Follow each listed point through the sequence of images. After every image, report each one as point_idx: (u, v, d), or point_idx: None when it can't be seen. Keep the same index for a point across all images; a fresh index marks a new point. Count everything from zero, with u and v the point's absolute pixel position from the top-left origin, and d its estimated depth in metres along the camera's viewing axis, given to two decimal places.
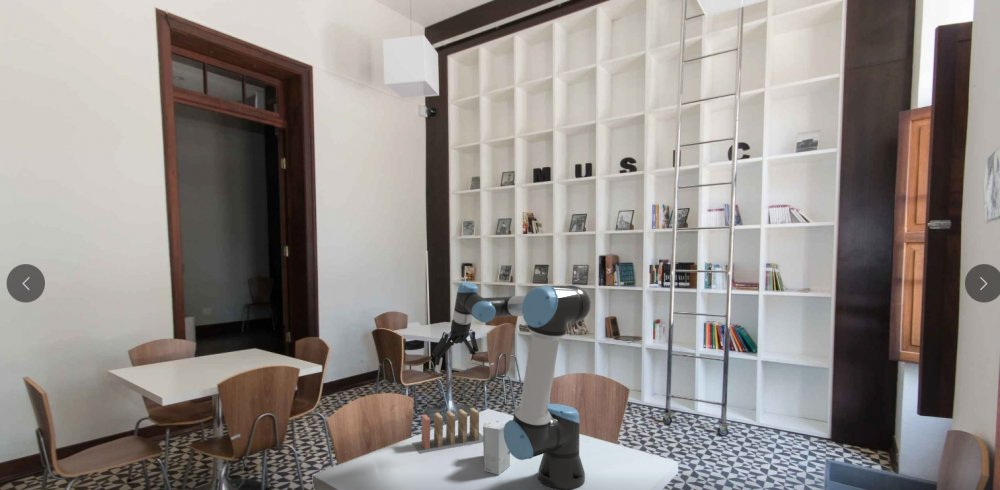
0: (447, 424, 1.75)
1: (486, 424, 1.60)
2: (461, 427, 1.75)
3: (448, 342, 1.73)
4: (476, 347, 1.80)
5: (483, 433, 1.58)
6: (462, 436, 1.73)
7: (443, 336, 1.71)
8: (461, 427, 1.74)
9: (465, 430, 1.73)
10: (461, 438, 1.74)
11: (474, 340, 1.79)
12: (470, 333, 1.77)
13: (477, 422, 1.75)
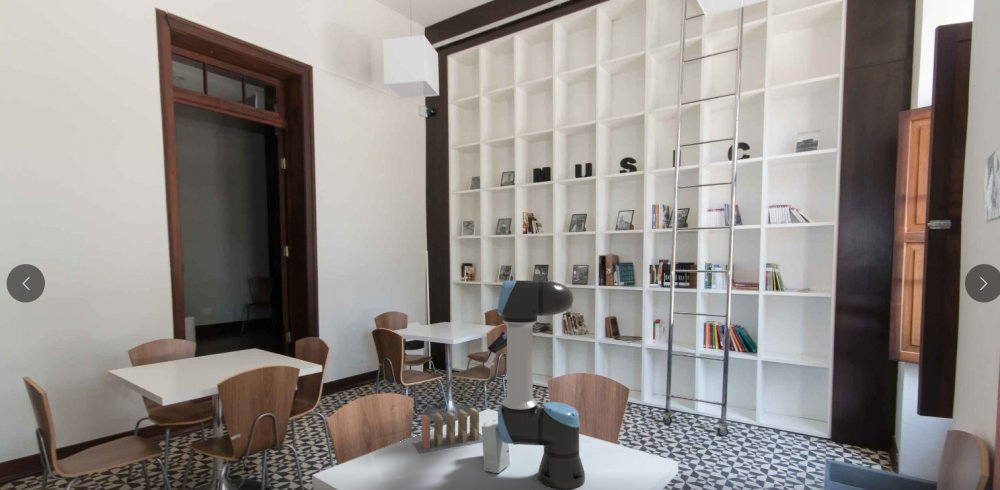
0: (447, 424, 1.75)
1: (486, 423, 1.61)
2: (461, 427, 1.75)
3: None
4: None
5: None
6: (462, 436, 1.73)
7: None
8: (461, 427, 1.74)
9: (465, 430, 1.73)
10: (461, 438, 1.74)
11: None
12: None
13: (477, 422, 1.75)
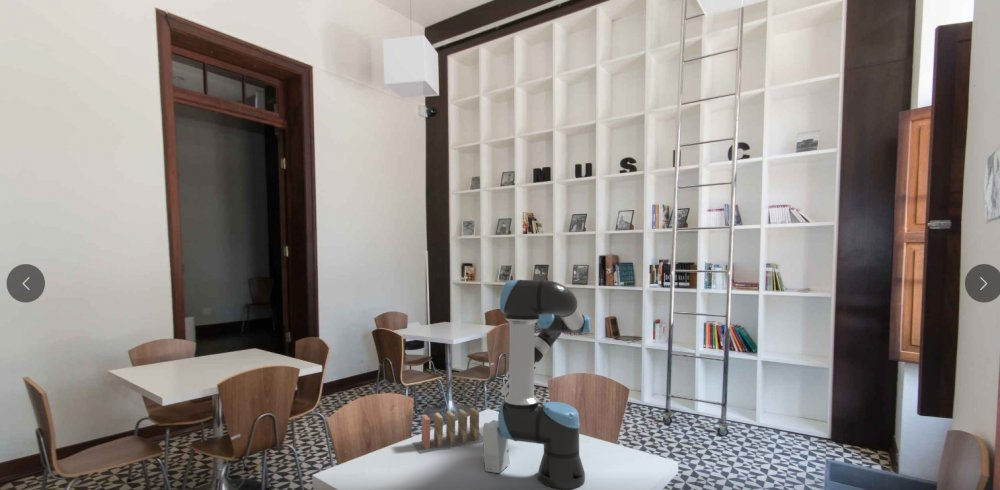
0: (447, 424, 1.75)
1: None
2: (461, 427, 1.75)
3: None
4: None
5: None
6: (462, 436, 1.73)
7: None
8: (461, 427, 1.74)
9: (465, 430, 1.73)
10: (461, 438, 1.74)
11: None
12: None
13: (477, 422, 1.75)
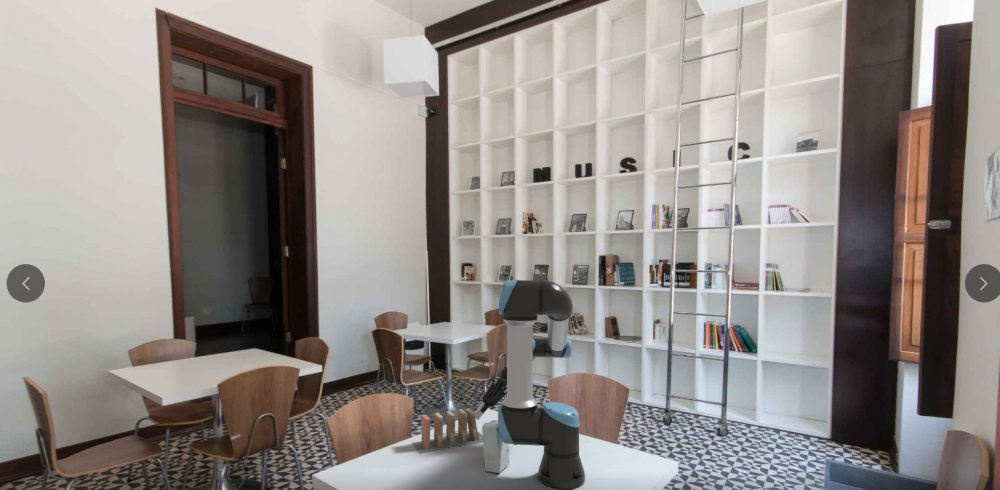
0: (447, 424, 1.75)
1: None
2: (461, 427, 1.75)
3: None
4: (491, 399, 1.78)
5: None
6: (462, 436, 1.73)
7: None
8: (461, 427, 1.74)
9: (465, 430, 1.73)
10: (461, 438, 1.74)
11: (498, 392, 1.79)
12: (505, 387, 1.80)
13: (474, 422, 1.75)
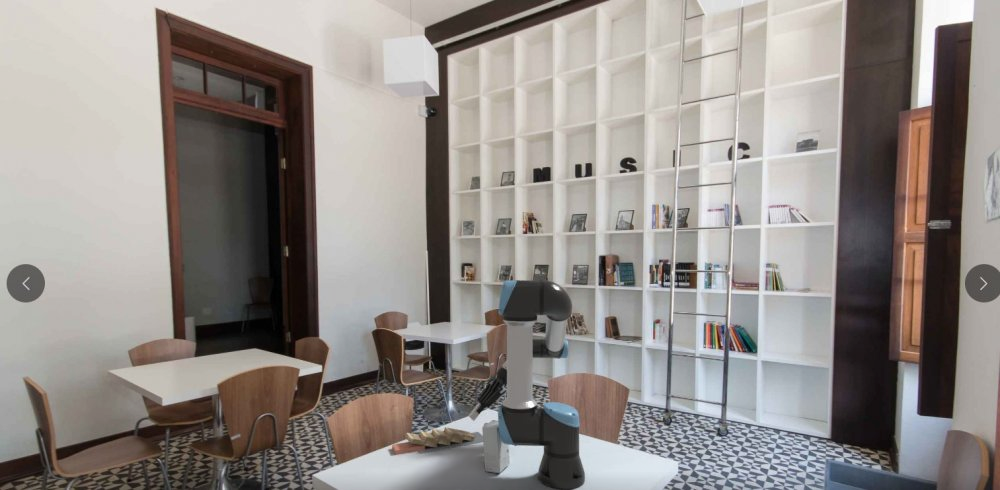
0: None
1: None
2: None
3: None
4: (487, 400, 1.77)
5: None
6: None
7: None
8: None
9: (451, 438, 1.71)
10: None
11: (494, 393, 1.78)
12: None
13: (458, 435, 1.72)
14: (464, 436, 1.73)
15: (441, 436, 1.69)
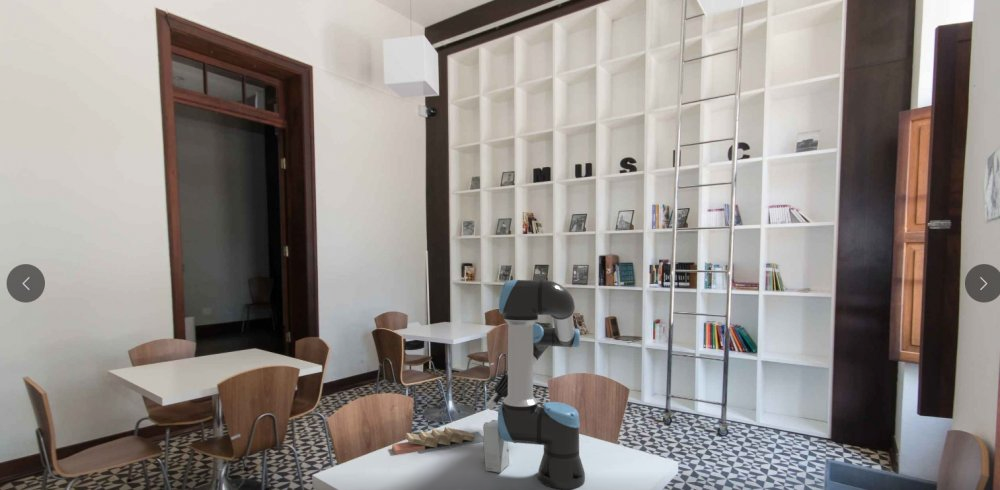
0: None
1: (486, 423, 1.61)
2: None
3: None
4: (505, 389, 1.81)
5: None
6: None
7: None
8: None
9: (451, 438, 1.71)
10: None
11: None
12: None
13: (458, 435, 1.72)
14: (464, 436, 1.73)
15: (441, 436, 1.69)
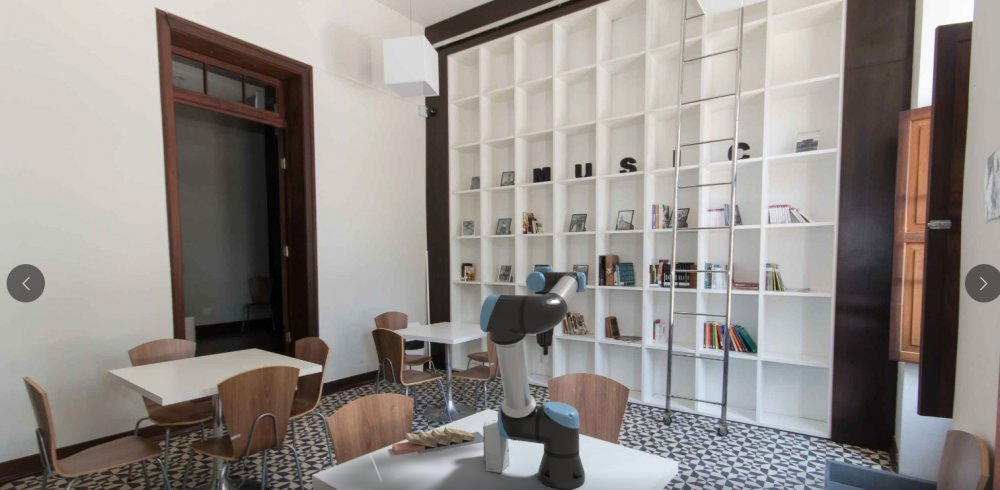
0: None
1: (486, 423, 1.61)
2: None
3: None
4: (545, 340, 1.76)
5: (483, 432, 1.58)
6: None
7: None
8: None
9: (451, 438, 1.71)
10: None
11: (547, 332, 1.76)
12: None
13: (458, 435, 1.72)
14: (464, 436, 1.73)
15: (441, 436, 1.69)
